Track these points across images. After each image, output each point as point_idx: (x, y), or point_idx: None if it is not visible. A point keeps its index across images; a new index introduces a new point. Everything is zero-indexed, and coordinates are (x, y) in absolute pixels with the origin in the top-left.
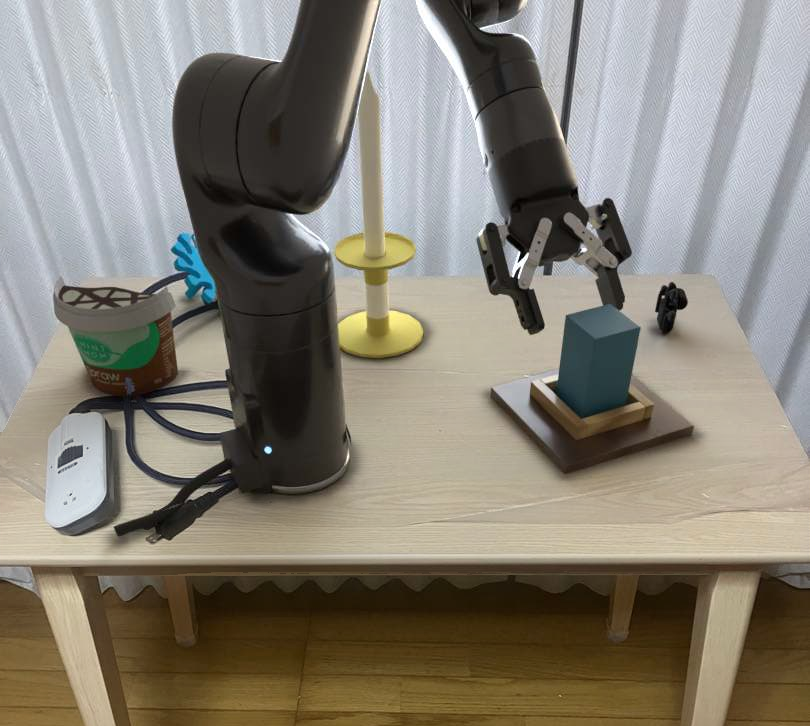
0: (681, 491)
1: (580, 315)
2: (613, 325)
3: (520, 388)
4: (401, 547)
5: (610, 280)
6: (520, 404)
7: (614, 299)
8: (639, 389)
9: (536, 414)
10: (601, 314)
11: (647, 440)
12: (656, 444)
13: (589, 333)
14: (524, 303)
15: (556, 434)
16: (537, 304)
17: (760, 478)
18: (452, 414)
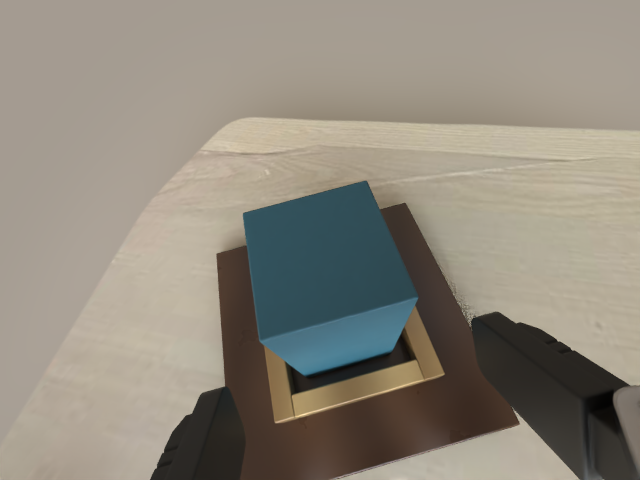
0: (286, 178)
1: (373, 286)
2: (301, 226)
3: (455, 403)
4: (595, 134)
5: (192, 465)
6: (458, 346)
7: (219, 405)
8: (240, 354)
9: (431, 313)
10: (311, 280)
11: None
12: None
13: (373, 200)
14: (585, 366)
15: (407, 260)
16: (527, 351)
17: (201, 187)
18: None
